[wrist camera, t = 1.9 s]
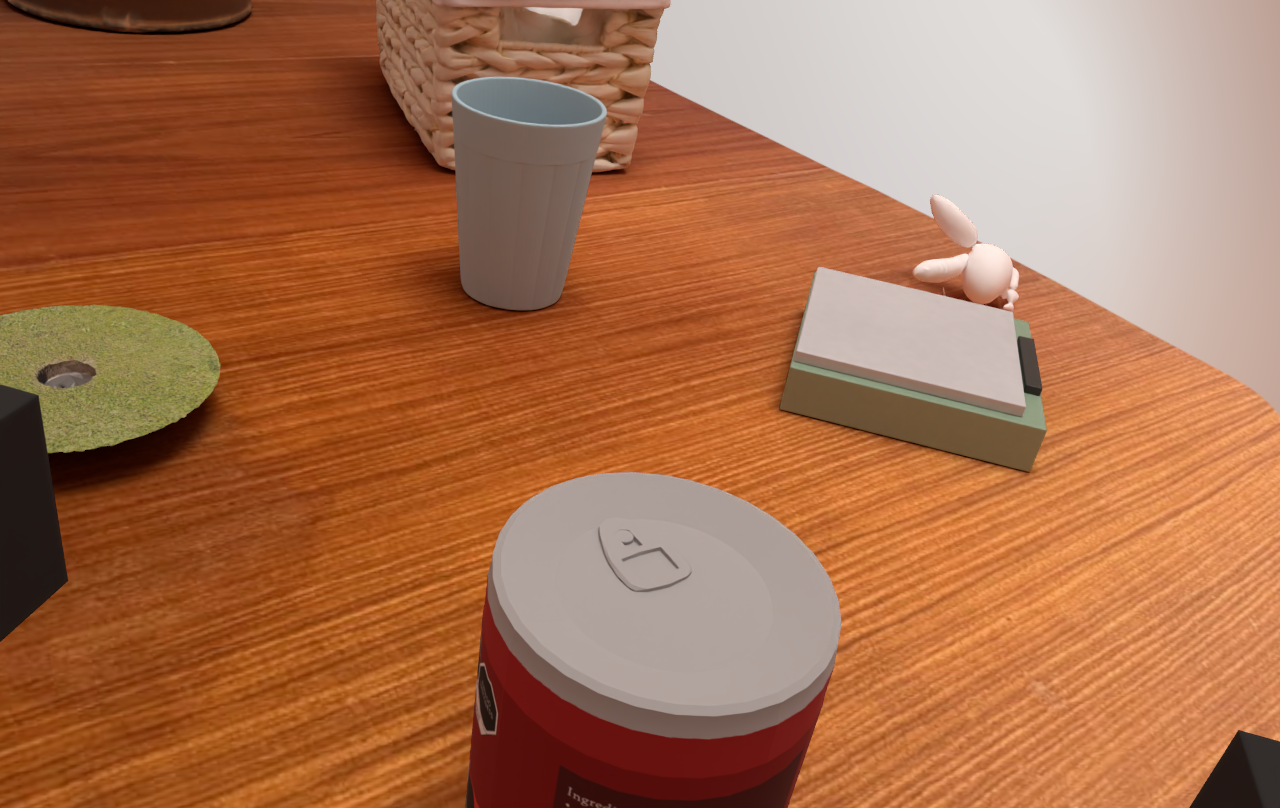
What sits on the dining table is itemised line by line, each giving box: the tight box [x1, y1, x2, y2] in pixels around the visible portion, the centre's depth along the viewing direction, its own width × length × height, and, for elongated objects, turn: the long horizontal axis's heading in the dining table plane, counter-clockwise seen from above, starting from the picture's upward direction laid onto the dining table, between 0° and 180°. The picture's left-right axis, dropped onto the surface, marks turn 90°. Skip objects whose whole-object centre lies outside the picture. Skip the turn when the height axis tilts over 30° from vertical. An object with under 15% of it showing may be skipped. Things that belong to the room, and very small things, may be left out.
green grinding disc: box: [0, 305, 220, 454], centre depth 43 cm, size 11×11×2 cm
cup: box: [452, 77, 607, 310], centre depth 56 cm, size 8×8×10 cm
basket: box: [376, 0, 670, 172], centre depth 79 cm, size 24×16×15 cm
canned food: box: [465, 472, 841, 808], centre depth 26 cm, size 8×8×11 cm
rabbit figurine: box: [913, 194, 1019, 312], centre depth 66 cm, size 6×4×8 cm
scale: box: [780, 267, 1047, 472], centre depth 56 cm, size 12×12×3 cm
